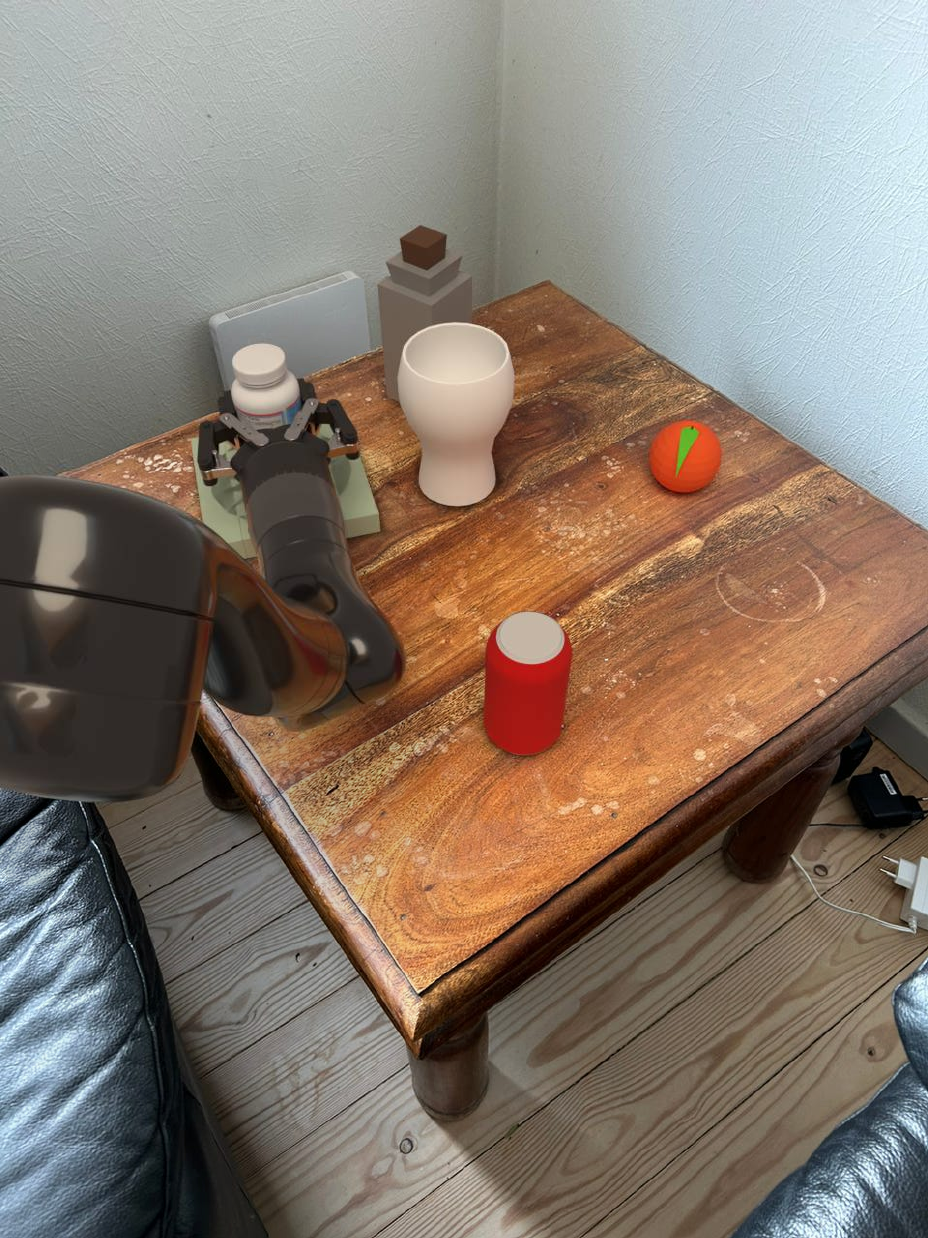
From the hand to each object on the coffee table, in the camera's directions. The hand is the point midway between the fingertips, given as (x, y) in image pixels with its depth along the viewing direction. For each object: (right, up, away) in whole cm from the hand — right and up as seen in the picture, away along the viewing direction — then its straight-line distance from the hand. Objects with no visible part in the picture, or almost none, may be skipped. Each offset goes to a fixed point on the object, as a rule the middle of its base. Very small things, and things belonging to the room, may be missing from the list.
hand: (265, 392), depth 85 cm
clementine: (+40, -8, +7) cm, 41 cm away
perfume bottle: (+15, +4, +17) cm, 23 cm away
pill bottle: (+1, -6, +3) cm, 7 cm away
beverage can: (+23, -30, -11) cm, 39 cm away
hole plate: (+1, -8, +7) cm, 11 cm away
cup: (+18, -7, +8) cm, 21 cm away
